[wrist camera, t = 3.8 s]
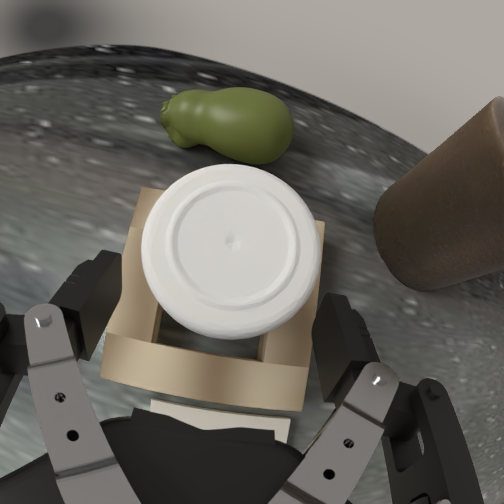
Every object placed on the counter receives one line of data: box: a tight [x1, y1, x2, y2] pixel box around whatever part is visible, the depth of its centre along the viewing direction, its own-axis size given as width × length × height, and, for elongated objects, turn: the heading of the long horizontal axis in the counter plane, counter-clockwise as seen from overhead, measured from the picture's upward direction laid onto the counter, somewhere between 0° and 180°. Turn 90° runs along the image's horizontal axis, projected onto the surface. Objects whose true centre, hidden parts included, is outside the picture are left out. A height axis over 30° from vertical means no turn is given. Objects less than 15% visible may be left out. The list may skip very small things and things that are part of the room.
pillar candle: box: [374, 96, 504, 291], centre depth 17 cm, size 10×10×15 cm
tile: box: [150, 398, 291, 443], centre depth 17 cm, size 9×9×1 cm
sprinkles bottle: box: [141, 164, 321, 340], centre depth 14 cm, size 5×5×13 cm
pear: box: [161, 87, 294, 165], centre depth 22 cm, size 6×5×10 cm
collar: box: [100, 187, 325, 411], centre depth 19 cm, size 12×12×2 cm
